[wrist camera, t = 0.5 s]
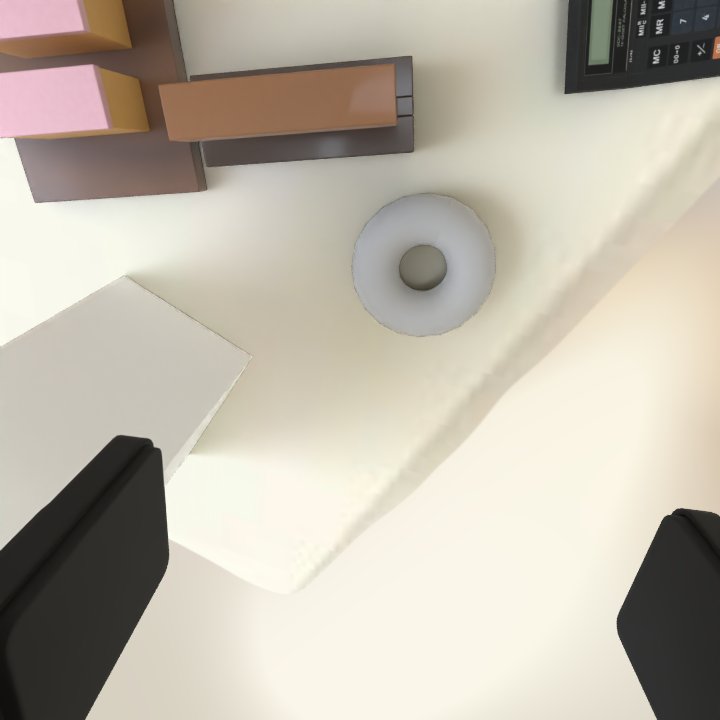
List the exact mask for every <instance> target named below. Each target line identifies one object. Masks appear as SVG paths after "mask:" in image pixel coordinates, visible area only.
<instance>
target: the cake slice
mask: <svg viewBox="0 0 720 720" xmlns="http://www.w3.org/2000/svg"><path fill="white" fill-rule="evenodd" d="M147 131H150V129H149V124H148V119H147V115H146V110H145V106H144V101H143V96H142V92H141V87H140V83H139V79H137V78H134V77H130V76H127V75H123V74H120V73H116V72H113V71H109V70H106V69H102V68H99V67H98V66H96V65H93V64H90V65H79V66H69V67H58V68H48V69H37V70H27V71H16V72H6V73H0V138H29V139H60V138H73V137H85V136H98V135H110V134H122V133H135V132H147Z"/></svg>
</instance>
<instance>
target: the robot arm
mask: <svg viewBox="0 0 720 720" xmlns="http://www.w3.org/2000/svg"><path fill="white" fill-rule="evenodd" d="M168 560H169V545H168V531H167V517H166V503H165V489H164V475H163V461H162V452H161V450H160V448H157V447H154V445H153V442H152V440H151V439H149V438H142V437H134V436H126V435H117V436H116V437H114V438H113V439H112V440H111V441H110V442H109V443H108V444H107V445H106V446H105V447H104V448H103V449H102V450H101V451H100V452H99V453H98V454H97V455H96V456H95V457H94V458H93V459H92V460H91V461H90V462H89V463H88V464H87V465H86V466H85V467H84V468H83V469H82V470H81V471H80V472H79V473H78V474H77V475H76V476H75V477H74V478H73V479H72V480H71V481H70V482H69V484H68V485H67V486H66V487H65V488H64V489H63V490H62V491H61V492H60V493H59V494H58V495H57V496H56V497H55V498H54V499H53V500H52V501H51V502H50V503H49V504H47V505H46V506H45V507H44V508H42V509H41V510H40V511H39V512H38V513H37V514H36V515H35V516H34V517H33V518H32V519H31V520H30V521H29V522H28V523H27V524H26V525H25V526H24V527H23V528H22V529H21V530H20V531H19V532H18V533H17V534H16V535H15V536H14V537H13V538H12V539H11V540H10V541H9V542H8V543H7V544H6V545H5V546H4V547H3V548H2V549H1V550H0V720H85V719H86V717H87V715H88V713H89V711H90V710H91V708H92V706H93V704H94V702H95V700H96V698H97V697H98V695H99V693H100V691H101V690H102V688H103V686H104V684H105V682H106V680H107V679H108V677H109V675H110V673H111V671H112V669H113V667H114V666H115V664H116V662H117V660H118V658H119V657H120V654H121V653H122V651H123V649H124V647H125V645H126V643H127V642H128V640H129V638H130V636H131V635H132V633H133V631H134V629H135V627H136V625H137V624H138V622H139V620H140V618H141V616H142V615H143V613H144V611H145V609H146V607H147V605H148V604H149V602H150V600H151V598H152V596H153V594H154V593H155V591H156V589H157V587H158V585H159V583H160V582H161V580H162V578H163V576H164V574H165V572H166V569H167V565H168ZM617 631H618V635H619V638H620V640H621V642H622V645H623V647H624V649H625V651H626V653H627V655H628V658H629V660H630V662H631V664H632V666H633V669H634V671H635V673H636V675H637V677H638V679H639V682H640V684H641V686H642V688H643V690H644V692H645V694H646V697H647V699H648V701H649V703H650V705H651V708H652V710H653V712H654V714H655V716H656V718H657V720H720V516H719V515H717V514H715V513H712V512H706V511H699V510H691V509H683V508H680V509H676V510H675V511H673V513H672V514H671V515H667V516H666V517H664V518H663V520H662V522H661V524H660V526H659V528H658V530H657V532H656V534H655V537H654V539H653V541H652V543H651V545H650V547H649V549H648V552H647V554H646V556H645V558H644V561H643V563H642V565H641V567H640V569H639V571H638V573H637V575H636V577H635V579H634V582H633V584H632V586H631V588H630V590H629V592H628V595H627V597H626V599H625V601H624V603H623V605H622V608H621V609H620V612H619V614H618V617H617Z"/></svg>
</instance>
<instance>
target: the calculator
mask: <svg viewBox="0 0 720 720" xmlns="http://www.w3.org/2000/svg"><path fill="white" fill-rule="evenodd" d="M717 76H720V0H569V9H568V30H567V52H566V73H565V94H571V93H582V92H593V91H604V90H615V89H625V88H633V87H641V86H648V85H656V84H664V83H671V82H679V81H686V80H694V79H702V78H709V77H717Z"/></svg>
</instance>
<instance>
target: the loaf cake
mask: <svg viewBox="0 0 720 720" xmlns="http://www.w3.org/2000/svg"><path fill="white" fill-rule="evenodd" d="M122 49H132V45H131V40H130V36H129V31H128V26H127V22H126V17H125V13H124V8H123V3H122V0H0V52H2V53H6V54H10V55H14V56H18V57H22V58H26V59H30V58H40V57H50V56H60V55H71V54H81V53H91V52H102V51H112V50H122Z"/></svg>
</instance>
